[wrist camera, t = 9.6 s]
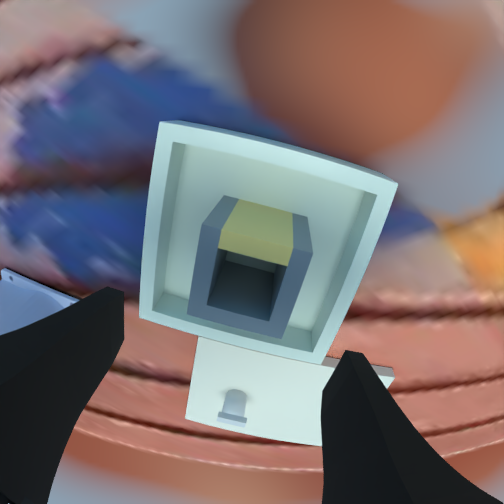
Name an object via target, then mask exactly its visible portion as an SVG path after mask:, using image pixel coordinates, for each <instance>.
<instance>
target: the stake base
mask: <svg viewBox="0 0 504 504" xmlns="http://www.w3.org/2000/svg"><path fill="white" fill-rule="evenodd" d="M339 361H340V359H336V358H331V357H326V356H325V357H324V359H323V361H322V363H321V365H319V364H314V363H309V362H304V361H299V360H295V359H290V358H285V357H281V356H276V355H272V354H268V353H264V352H259V351H255V350H251V349H247V348H243V347H239V346H235V345H231V344H227V343H224V342H220V341H216V340H212V339H209V338H205V337H202V336H199V337H198V343H197V349H196V355H195V360H194V366H193V372H192V378H191V384H190V391H189V397H188V403H187V410H186V416H185V419H188V420H192V421H195V422H199V423H203V424H206V425H210V426H214V427H218V428H222V429H226V430H231V431H235V432H240V433H244V434H249V435H254V436H259V437H264V438H270V439H276V440H282V441H288V442H294V443H301V444H309V445H317V446H322V435H321V401H322V390H323V389H324V387H325V385H326V384H327V382H328V380H329V379H330V377H331V375H332V373H333V372H334V370H335V368H336V366H337V365H338V363H339ZM371 366H372V367H373V369H374V370H375V372H376V373H377V375H378V376H379V378H380V379H381V381H382V382H383V384H384V386H385V387H386V388H388V387H389V385H390V384H391V383H392V381H393V380H394V378H395V376H394V373H393V369H392V368H388V367H382V366H375V365H371Z"/></svg>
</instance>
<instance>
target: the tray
mask: <svg viewBox="0 0 504 504" xmlns="http://www.w3.org/2000/svg"><path fill="white" fill-rule="evenodd" d="M397 186H398V183H396V182H395V181H393V180H392V179H390V178H389V177H387V176H386V175H384V174H383V173H380V172H377V171H375V170H372V169H369V168H366V167H363V166H360V165H357V164H354V163H351V162H348V161H345V160H341V159H338V158H335V157H332V156H329V155H325V154H322V153H319V152H315V151H312V150H308V149H305V148H301V147H297V146H294V145H290V144H286V143H283V142H279V141H275V140H271V139H267V138H263V137H259V136H254V135H250V134H246V133H241V132H237V131H232V130H228V129H223V128H218V127H213V126H208V125H203V124H198V123H192V122H187V121H181V120H173V121H162V122H160V124H159V129H158V135H157V140H156V146H155V153H154V159H153V165H152V172H151V179H150V187H149V195H148V203H147V211H146V221H145V231H144V241H143V253H142V267H141V283H140V305H139V317H140V318H143V319H146V320H149V321H152V322H155V323H158V324H161V325H165V326H168V327H171V328H174V329H178V330H181V331H184V332H188V333H191V334H195V335H198V336H202V337H205V338H209V339H212V340H216V341H220V342H224V343H227V344H231V345H235V346H239V347H243V348H247V349H251V350H255V351H259V352H264V353H268V354H272V355H276V356H281V357H285V358H290V359H295V360H299V361H304V362H309V363H314V364H319V365H321V363H322V361H323V359H324V357H325V356H326V354H327V352H328V350H329V348H330V346H331V344H332V342H333V340H334V338H335V336H336V334H337V332H338V330H339V328H340V325H341V323H342V321H343V319H344V317H345V315H346V313H347V311H348V309H349V306H350V304H351V302H352V300H353V298H354V295H355V293H356V291H357V289H358V286H359V284H360V282H361V280H362V277H363V275H364V273H365V270H366V268H367V266H368V263H369V261H370V258H371V256H372V253H373V251H374V248H375V246H376V243H377V241H378V238H379V236H380V233H381V231H382V228H383V225H384V223H385V220H386V217H387V215H388V212H389V209H390V206H391V204H392V201H393V198H394V195H395V192H396V189H397ZM224 195H225V196H229V197H233V198H237V199H241V200H245V201H249V202H253V203H257V204H261V205H265V206H269V207H272V208H276V209H280V210H284V211H287V212H291V213H295V214H298V215H302V216H305V217H307V218H308V224H309V230H310V236H311V242H312V249H313V256H312V258H311V261H310V264H309V267H308V270H307V273H306V275H305V278H304V281H303V284H302V287H301V289H300V292H299V295H298V297H297V300H296V303H295V306H294V308H293V311H292V314H291V316H290V319H289V321H288V324H287V327H286V329H285V332H284V334H283V337H282V339H278V338H274V337H270V336H266V335H262V334H258V333H254V332H250V331H246V330H242V329H238V328H234V327H230V326H227V325H223V324H219V323H215V322H212V321H208V320H205V319H201V318H197V317H194V316H191V315H187V309H188V302H189V296H190V289H191V283H192V277H193V271H194V265H195V259H196V253H197V247H198V241H199V236H200V230H201V225H202V223H203V222H204V220H205V219H206V218H207V217H208V215H209V214H210V213H211V211H212V210H213V209H214V207H215V206H216V205H217V204H218V202H219V201H220V200H221V198H222V197H223V196H224ZM225 260H226V261H230V262H234V263H238V264H242V265H245V266H249V267H253V268H257V269H261V270H264V271H268V272H272V273H274V272H275V269H276V266H277V263H273V262H269V261H265V260H262V259H258V258H254V257H250V256H246V255H243V254H239V253H235V252H231V251H227V255H226V259H225Z"/></svg>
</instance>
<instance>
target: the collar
mask: <svg viewBox="0 0 504 504" xmlns="http://www.w3.org/2000/svg"><path fill="white" fill-rule="evenodd" d="M227 251H231V252H235V253H239V254H243V255H246V256H250V257H254V258H258V259H262V260H265V261H269V262H273V263H277V266H276V269H275V272H274V273H272V272H268V271H264V270H261V269H257V268H253V267H249V266H245V265H242V264H238V263H234V262H230V261H226V260H225V259H226V255H227ZM312 256H313V249H312V242H311V236H310V230H309V224H308V218H307V217H305V216H302V215H298V214H295V213H291V212H287V211H284V210H280V209H276V208H272V207H269V206H265V205H261V204H257V203H253V202H249V201H245V200H241V199H237V198H233V197H229V196H225V195H224V196H223V197H222V198H221V200H220V201H219V202H218V204H217V205H216V206H215V207H214V209H213V210H212V211H211V213H210V214H209V215H208V217H207V218H206V219H205V220H204V222H203V223H202V225H201V230H200V236H199V241H198V247H197V253H196V259H195V265H194V271H193V277H192V283H191V289H190V296H189V302H188V309H187V315H191V316H194V317H197V318H201V319H205V320H208V321H212V322H215V323H219V324H223V325H227V326H230V327H234V328H238V329H242V330H246V331H250V332H254V333H258V334H262V335H266V336H270V337H274V338H278V339H282V337H283V334H284V332H285V329H286V327H287V324H288V321H289V319H290V316H291V314H292V311H293V308H294V306H295V303H296V300H297V297H298V295H299V292H300V289H301V287H302V284H303V281H304V278H305V275H306V273H307V270H308V267H309V264H310V261H311V258H312Z"/></svg>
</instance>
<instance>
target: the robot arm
mask: <svg viewBox="0 0 504 504" xmlns="http://www.w3.org/2000/svg"><path fill="white" fill-rule="evenodd" d="M1 276H2V280H1V281H0V504H8V503H9V504H47V502H48V498H49V494H50V490H51V486H52V483H53V480H54V477H55V474H56V471H57V468H58V465H59V462H60V459H61V457H62V454H63V452H64V449H65V446H66V444H67V442H68V439H69V437H70V435H71V433H72V430H73V428H74V426H75V424H76V422H77V420H78V418H79V416H80V414H81V412H82V411H83V409H84V407H85V406H86V404H87V403H88V401H89V400H90V398H91V396H92V395H93V393H94V392H95V390H96V389H97V387H98V386H99V384H100V382H101V381H102V379H103V378H104V376H105V375H106V373H107V372H108V370H109V368H110V367H111V365H112V364H113V362H114V360H115V358H116V356H117V354H118V352H119V349H120V347H121V345H122V343H123V341H124V292H122V291H119V290H116V289H113V288H110V287H106V288H104V289H102V290H99V291H97V292H95V293H93V294H91V295H90V296H88V297H86V298H84V299H82V300H78V299H76V298H73V297H71V296H68V295H66V294H63V293H61V292H58V291H56V290H53V289H51V288H49V287H46V286H44V285H42V284H39V283H37V282H35V281H32V280H30V279H28V278H26V277H23V276H21V275H19V274H17V273H15V272H12V271H10V270H8V269H6V268H4V269H2V270H1ZM321 435H322V452H323V471H324V486H323V498H322V504H503V503H502V502H501V501H499V500H497V499H496V498H494V497H492V496H491V495H489V494H487V493H486V492H484V491H482V490H481V489H479V488H478V487H477V486H475V485H474V484H472V483H471V482H470V481H468V480H467V479H466V478H464V477H463V476H462V475H461V474H460V473H458V472H457V471H456V470H455V469H454V468H453V467H451V466H450V465H449V464H448V463H447V462H446V461H445V460H444V459H443V458H442V457H441V456H440V455H439V454H438V453H437V452H436V451H435V450H434V449H433V448H432V447H431V446H430V445H429V444H428V442H427V441H426V440H425V439H424V438H423V437H422V436H421V435H420V433H419V432H418V431H417V430H416V429H415V427H414V426H413V425H412V423H411V422H410V421H409V419H408V418H407V417H406V416H405V414H404V413H403V412H402V410H401V409H400V407H399V406H398V405H397V403H396V402H395V400H394V399H393V397H392V396H391V394H390V393H389V391H388V390H387V388H386V387H385V386H384V384H383V382H382V381H381V379H380V378H379V376H378V375H377V373H376V372H375V370H374V369H373V367H372V366H371V364H370V363H369V361H368V360H367V359H366V357H365V356H364V354H363V353H359V352H353V351H348V350H345V352H344V354H343V356H342V357H341V359H340V361H339V363H338V365H337V366H336V368H335V370H334V372H333V373H332V375H331V377H330V379H329V380H328V382H327V384H326V385H325V387H324V389H323V390H322V401H321Z"/></svg>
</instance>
